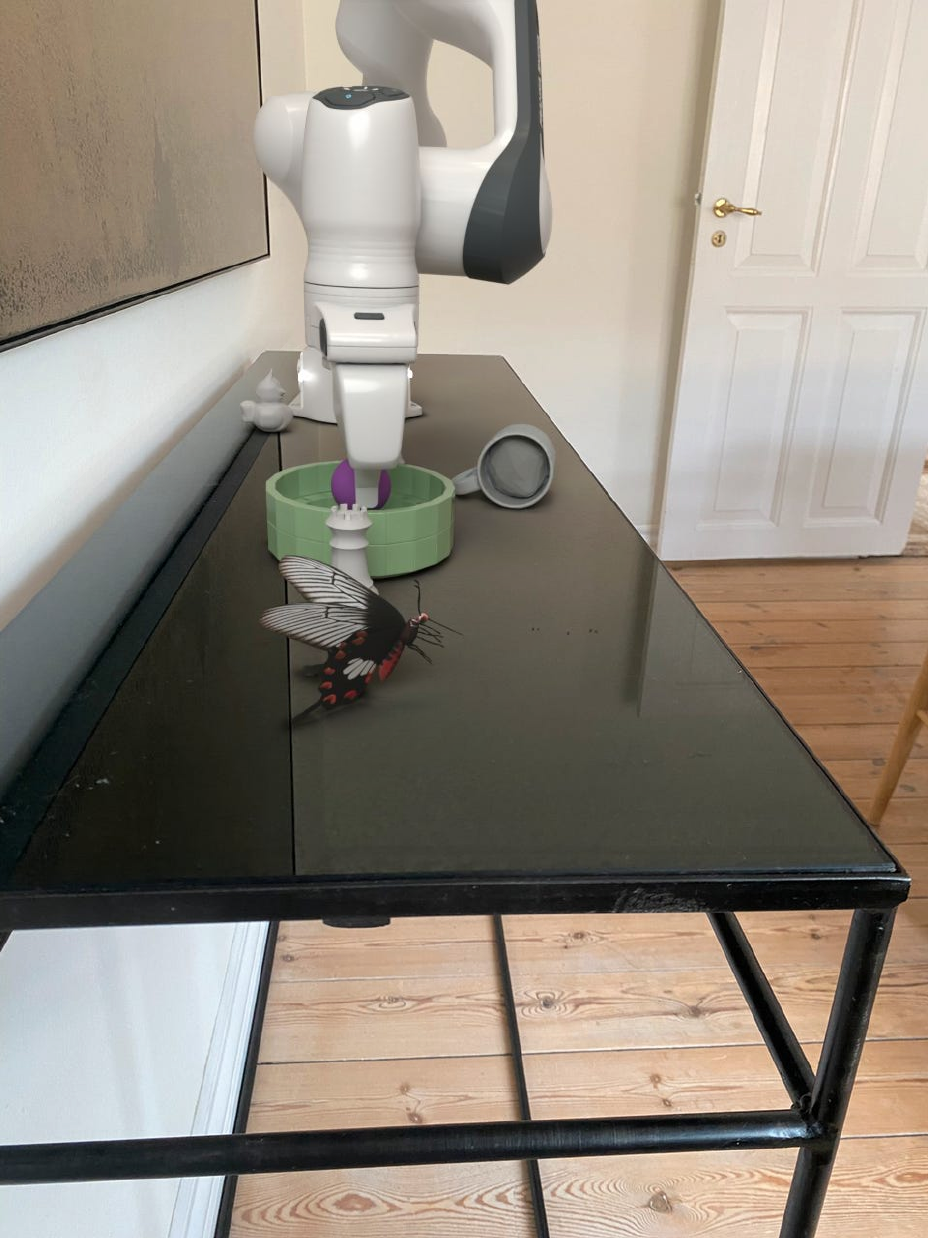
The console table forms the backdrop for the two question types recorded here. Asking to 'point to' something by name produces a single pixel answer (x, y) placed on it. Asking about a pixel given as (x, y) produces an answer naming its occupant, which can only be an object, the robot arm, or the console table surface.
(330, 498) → the bowl
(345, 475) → the ball
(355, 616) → the butterfly
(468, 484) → the ceramic mug
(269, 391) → the rubber duck
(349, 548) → the rook chess piece
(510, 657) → the console table surface
